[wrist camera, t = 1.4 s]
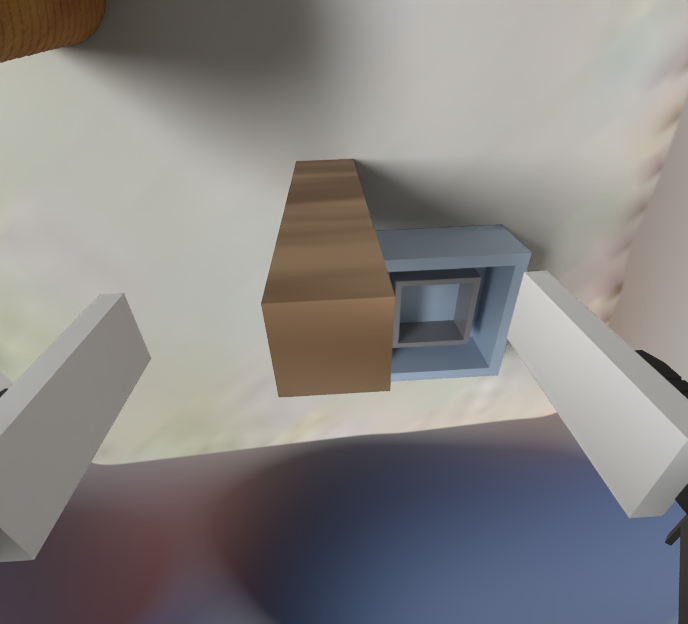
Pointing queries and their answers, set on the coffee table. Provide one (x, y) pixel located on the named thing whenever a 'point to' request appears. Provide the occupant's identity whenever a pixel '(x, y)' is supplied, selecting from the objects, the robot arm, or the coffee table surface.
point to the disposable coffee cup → (45, 25)
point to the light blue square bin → (452, 298)
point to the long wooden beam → (328, 288)
